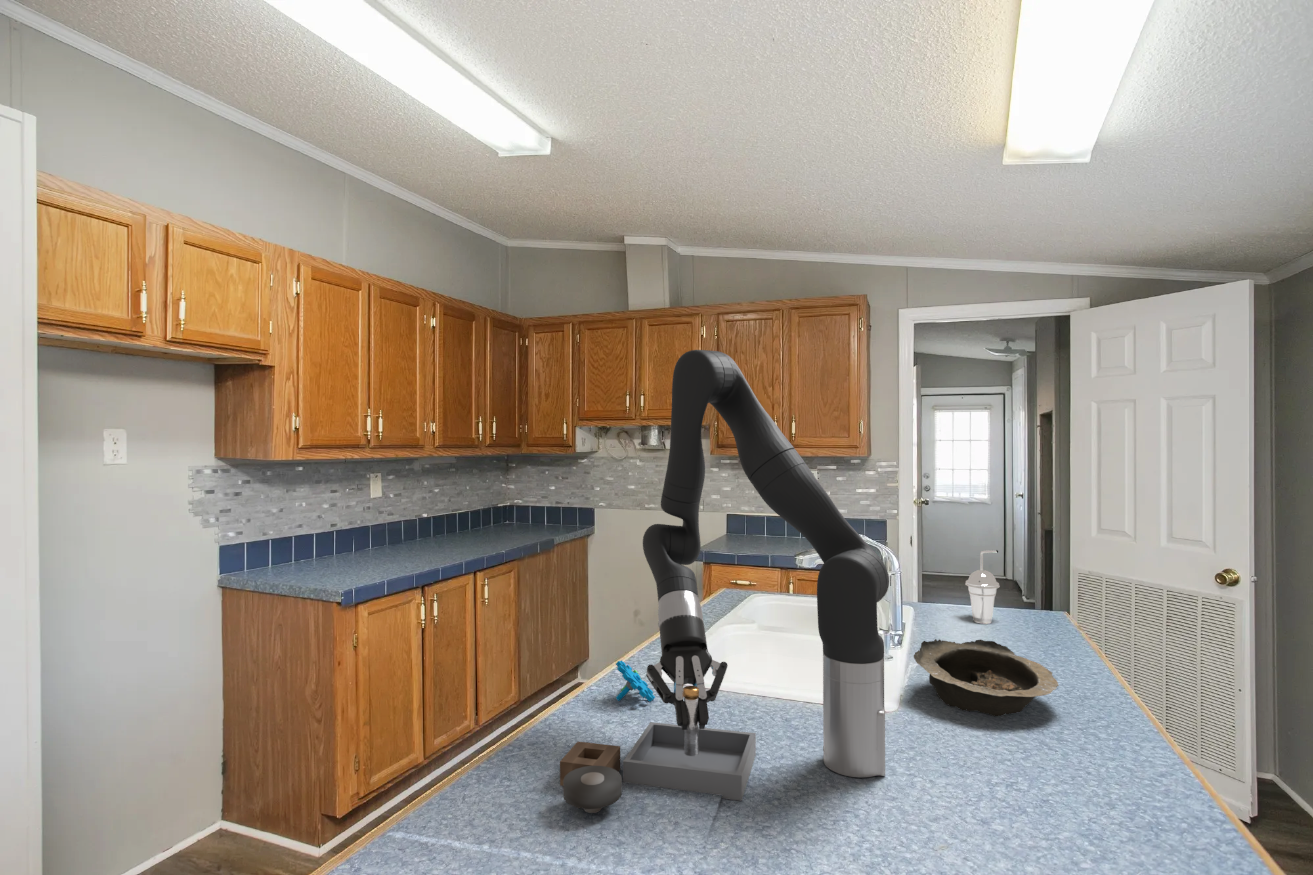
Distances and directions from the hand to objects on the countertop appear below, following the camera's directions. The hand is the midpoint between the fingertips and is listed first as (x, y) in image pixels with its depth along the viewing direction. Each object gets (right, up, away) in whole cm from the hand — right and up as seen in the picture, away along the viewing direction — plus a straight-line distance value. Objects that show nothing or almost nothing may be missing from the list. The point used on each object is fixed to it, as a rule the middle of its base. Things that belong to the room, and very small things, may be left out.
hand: (693, 726), depth 109 cm
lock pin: (0, -5, +2) cm, 5 cm away
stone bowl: (+57, -7, +29) cm, 64 cm away
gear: (-10, -7, +32) cm, 34 cm away
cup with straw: (+82, -6, +84) cm, 118 cm away
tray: (0, -7, +2) cm, 8 cm away
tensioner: (-15, -8, -6) cm, 18 cm away
